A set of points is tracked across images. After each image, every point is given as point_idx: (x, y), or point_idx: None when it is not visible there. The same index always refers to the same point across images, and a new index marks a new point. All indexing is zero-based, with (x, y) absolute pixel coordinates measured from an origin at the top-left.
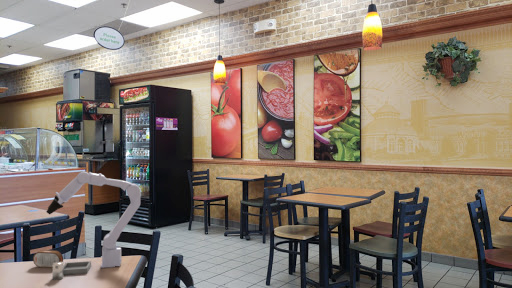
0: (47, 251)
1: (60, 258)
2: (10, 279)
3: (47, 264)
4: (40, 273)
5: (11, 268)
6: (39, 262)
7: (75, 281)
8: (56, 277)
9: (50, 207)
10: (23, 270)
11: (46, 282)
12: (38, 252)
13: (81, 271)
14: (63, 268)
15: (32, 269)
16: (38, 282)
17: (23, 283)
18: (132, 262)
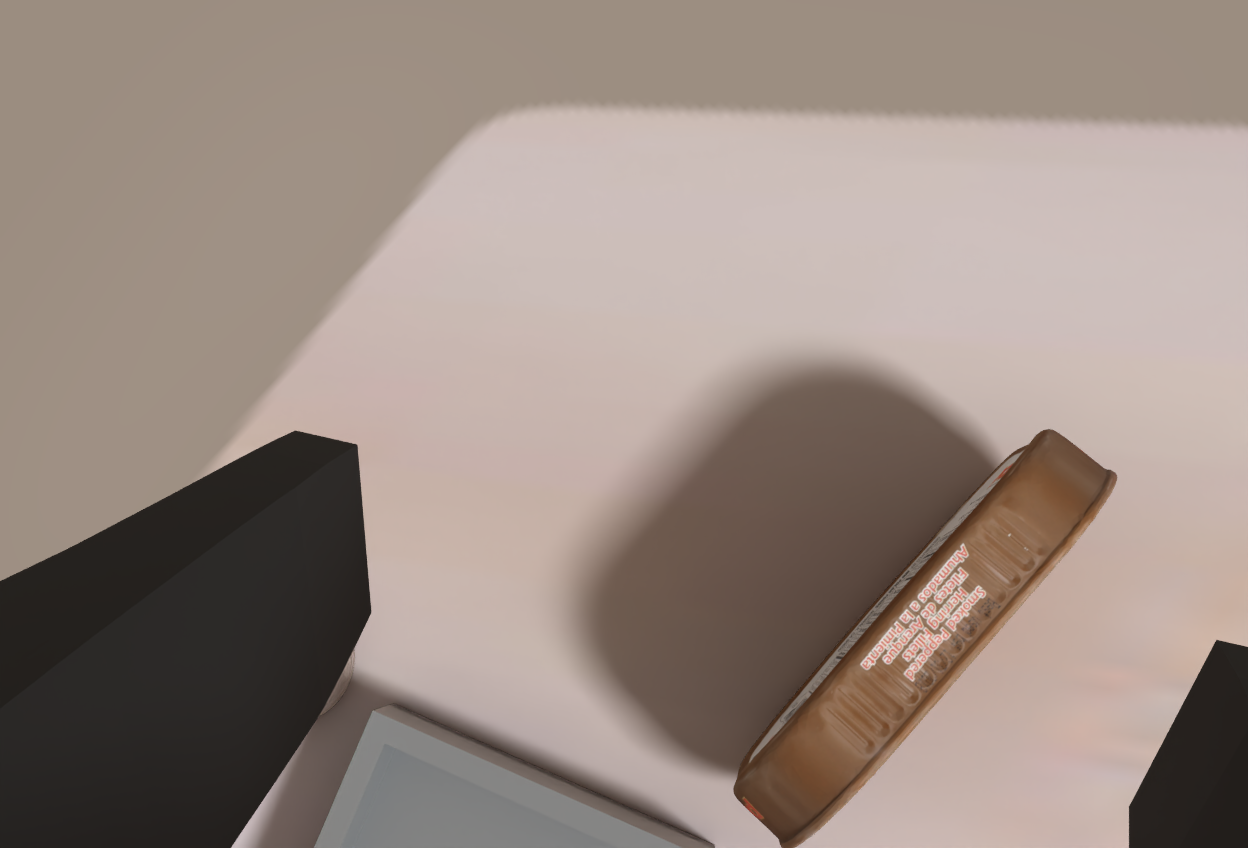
0: (939, 626)
1: (737, 797)
2: (605, 167)
3: (870, 618)
4: (642, 499)
5: (1112, 201)
6: (961, 519)
7: None
8: None
9: (14, 630)
10: (918, 326)
11: None
12: (994, 487)
13: None
14: (454, 772)
15: (898, 432)
16: (280, 432)
17: (353, 282)
18: None
